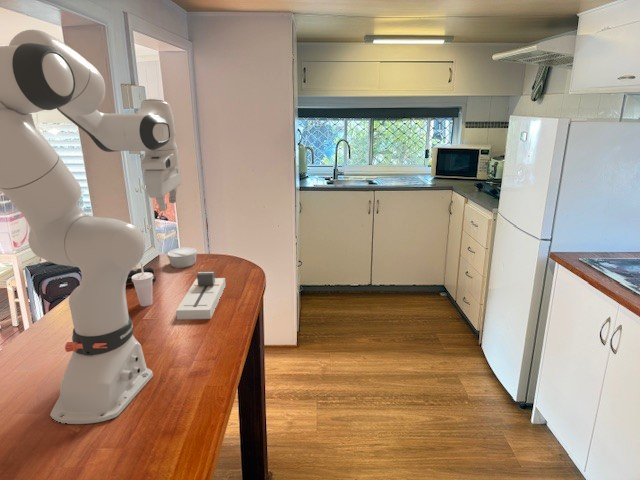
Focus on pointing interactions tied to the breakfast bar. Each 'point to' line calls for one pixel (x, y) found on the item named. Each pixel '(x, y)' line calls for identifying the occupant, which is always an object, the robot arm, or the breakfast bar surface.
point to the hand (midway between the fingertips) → (168, 206)
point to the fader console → (201, 300)
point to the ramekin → (182, 257)
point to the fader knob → (206, 278)
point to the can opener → (131, 273)
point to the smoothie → (143, 286)
